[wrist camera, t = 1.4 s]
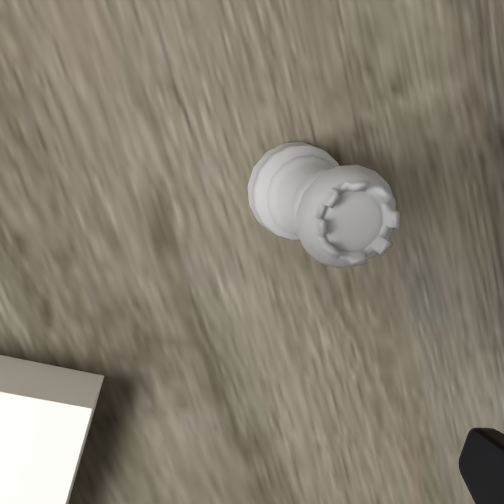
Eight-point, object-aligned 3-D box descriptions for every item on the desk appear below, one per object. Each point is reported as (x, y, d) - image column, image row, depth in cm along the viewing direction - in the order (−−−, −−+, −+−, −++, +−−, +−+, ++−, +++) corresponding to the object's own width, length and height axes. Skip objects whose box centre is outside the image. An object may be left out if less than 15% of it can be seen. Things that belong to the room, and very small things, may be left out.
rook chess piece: (328, 238, 20) (412, 300, 12) (240, 230, 19) (273, 291, 12) (344, 147, 19) (448, 154, 11) (252, 135, 18) (297, 133, 10)
